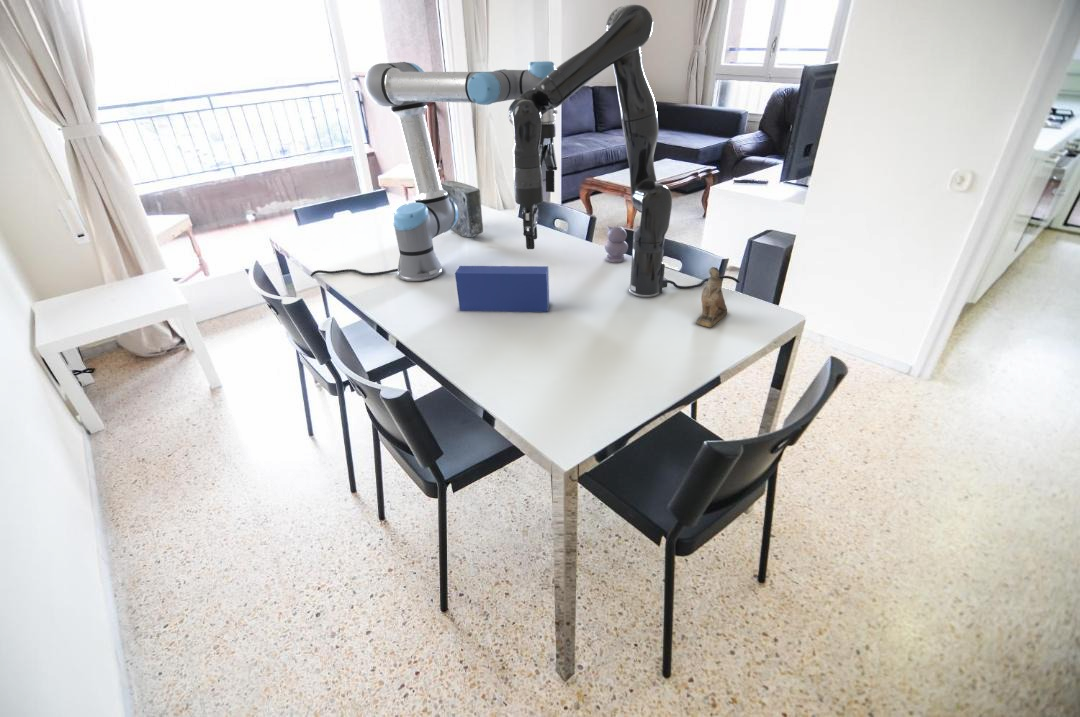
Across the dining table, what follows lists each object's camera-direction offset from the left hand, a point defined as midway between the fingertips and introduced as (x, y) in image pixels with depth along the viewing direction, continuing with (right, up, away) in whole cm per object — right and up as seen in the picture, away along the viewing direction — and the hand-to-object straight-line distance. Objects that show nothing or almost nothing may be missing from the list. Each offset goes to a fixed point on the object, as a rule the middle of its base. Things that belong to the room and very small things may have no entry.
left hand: (544, 196), depth 156 cm
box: (-12, -35, -6) cm, 38 cm away
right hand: (-4, -19, -17) cm, 26 cm away
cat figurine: (+26, -15, +25) cm, 39 cm away
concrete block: (-34, +3, +58) cm, 67 cm away
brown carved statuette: (+47, -40, -17) cm, 64 cm away
